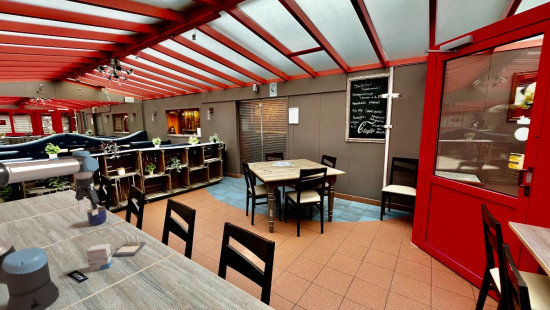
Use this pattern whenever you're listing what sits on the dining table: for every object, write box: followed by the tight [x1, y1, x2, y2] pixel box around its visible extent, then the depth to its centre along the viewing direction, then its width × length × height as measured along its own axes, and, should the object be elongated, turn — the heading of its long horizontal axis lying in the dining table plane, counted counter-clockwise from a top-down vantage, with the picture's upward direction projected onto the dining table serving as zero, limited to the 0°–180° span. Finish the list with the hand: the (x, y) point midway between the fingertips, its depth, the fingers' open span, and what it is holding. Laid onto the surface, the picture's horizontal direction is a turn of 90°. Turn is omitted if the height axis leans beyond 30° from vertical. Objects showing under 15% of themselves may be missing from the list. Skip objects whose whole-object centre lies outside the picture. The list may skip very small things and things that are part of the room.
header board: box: [112, 234, 147, 258], centre depth 129 cm, size 12×12×8 cm
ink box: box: [86, 243, 113, 272], centre depth 114 cm, size 9×5×12 cm, turn 105°
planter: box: [86, 206, 108, 226], centre depth 163 cm, size 11×11×11 cm
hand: (88, 212), depth 127 cm, fingers open, 13 cm apart
